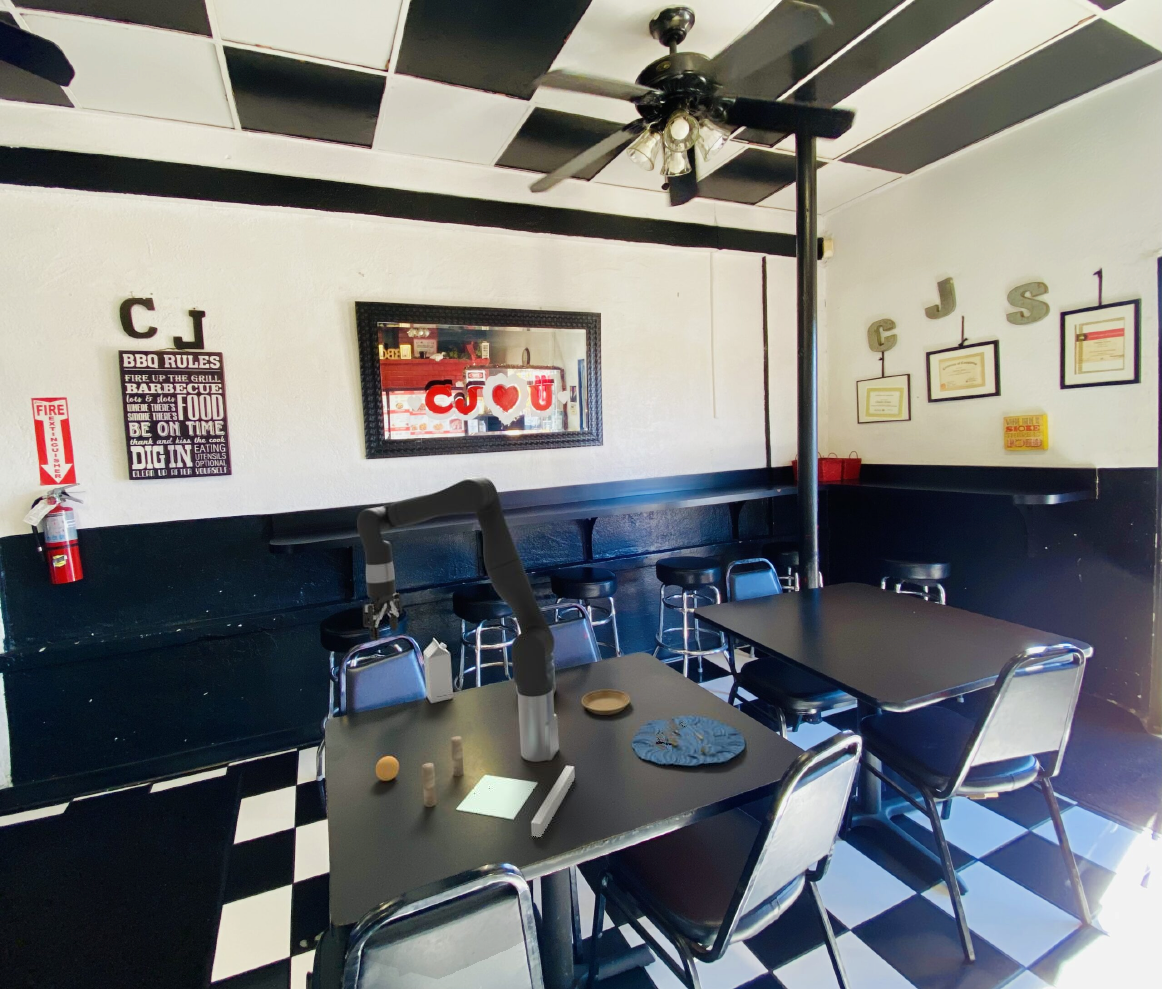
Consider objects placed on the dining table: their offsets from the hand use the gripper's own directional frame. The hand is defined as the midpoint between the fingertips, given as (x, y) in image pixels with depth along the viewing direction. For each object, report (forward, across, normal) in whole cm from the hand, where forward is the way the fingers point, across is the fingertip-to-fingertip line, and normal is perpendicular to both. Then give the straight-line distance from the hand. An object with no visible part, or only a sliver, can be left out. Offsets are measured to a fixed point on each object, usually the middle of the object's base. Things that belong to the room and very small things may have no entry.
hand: (384, 635), depth 165 cm
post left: (+29, -26, -29) cm, 49 cm away
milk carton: (+29, +25, 0) cm, 39 cm away
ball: (+26, -20, -13) cm, 35 cm away
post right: (+29, -13, -29) cm, 43 cm away
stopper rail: (+29, -20, -57) cm, 67 cm away
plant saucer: (+30, +30, -55) cm, 69 cm away
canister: (+30, +35, -30) cm, 55 cm away
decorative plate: (+30, +14, -82) cm, 88 cm away
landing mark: (+29, -20, -43) cm, 56 cm away
